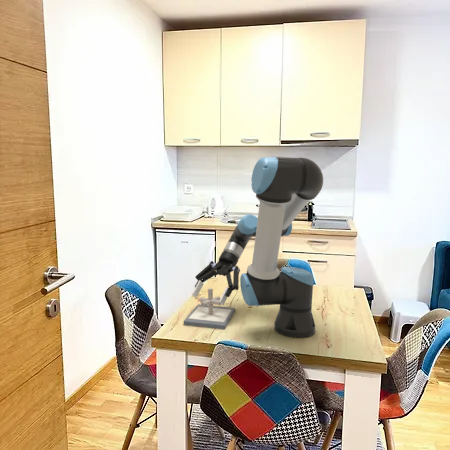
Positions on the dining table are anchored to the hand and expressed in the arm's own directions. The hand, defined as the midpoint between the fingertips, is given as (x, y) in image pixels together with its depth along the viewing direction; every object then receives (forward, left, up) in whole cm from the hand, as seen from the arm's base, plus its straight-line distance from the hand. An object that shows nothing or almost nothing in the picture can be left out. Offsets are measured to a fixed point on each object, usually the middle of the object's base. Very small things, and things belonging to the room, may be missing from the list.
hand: (207, 299), depth 166 cm
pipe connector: (+1, -2, -7) cm, 7 cm away
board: (+1, -2, -8) cm, 8 cm away
